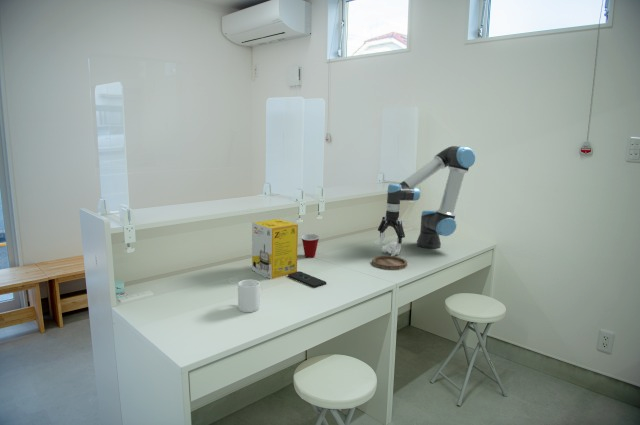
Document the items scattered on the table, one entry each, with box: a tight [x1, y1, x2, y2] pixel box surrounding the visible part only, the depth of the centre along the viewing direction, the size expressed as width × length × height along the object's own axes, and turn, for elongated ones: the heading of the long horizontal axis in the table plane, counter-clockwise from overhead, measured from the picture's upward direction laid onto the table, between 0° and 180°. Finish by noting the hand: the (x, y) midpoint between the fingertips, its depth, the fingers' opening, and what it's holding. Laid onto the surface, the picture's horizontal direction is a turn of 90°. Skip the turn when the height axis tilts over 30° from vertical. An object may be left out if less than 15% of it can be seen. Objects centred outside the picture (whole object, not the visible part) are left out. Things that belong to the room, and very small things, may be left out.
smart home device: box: [287, 270, 327, 289], centre depth 204 cm, size 8×2×20 cm
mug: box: [237, 279, 261, 313], centre depth 171 cm, size 9×12×11 cm
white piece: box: [381, 240, 402, 257], centre depth 251 cm, size 6×8×12 cm
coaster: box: [371, 255, 408, 271], centre depth 233 cm, size 18×18×2 cm
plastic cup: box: [300, 233, 320, 259], centre depth 242 cm, size 11×11×12 cm
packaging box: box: [251, 218, 299, 280], centre depth 213 cm, size 16×16×25 cm
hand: (389, 245), depth 251 cm, fingers open, 13 cm apart
